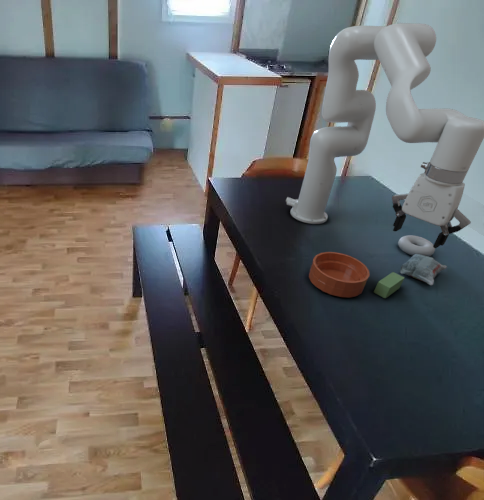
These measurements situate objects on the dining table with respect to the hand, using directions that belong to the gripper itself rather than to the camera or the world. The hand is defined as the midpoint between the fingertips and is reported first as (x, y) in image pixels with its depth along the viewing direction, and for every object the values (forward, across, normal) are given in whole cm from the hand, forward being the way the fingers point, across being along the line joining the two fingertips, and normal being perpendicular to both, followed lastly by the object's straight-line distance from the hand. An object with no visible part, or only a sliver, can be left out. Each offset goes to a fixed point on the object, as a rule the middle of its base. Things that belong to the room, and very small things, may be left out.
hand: (416, 237), depth 102 cm
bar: (+16, -1, -2) cm, 17 cm away
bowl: (+16, -11, -10) cm, 22 cm away
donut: (+16, -6, +26) cm, 31 cm away
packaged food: (+17, +2, +13) cm, 21 cm away
